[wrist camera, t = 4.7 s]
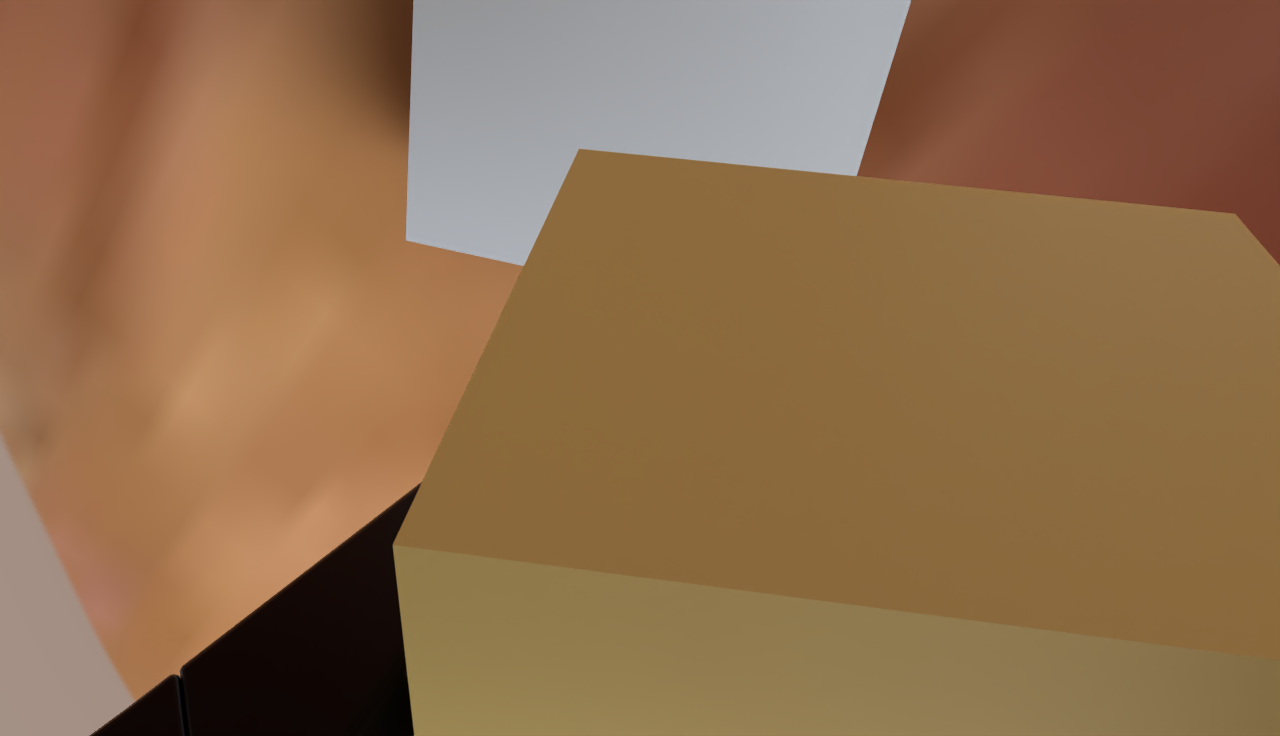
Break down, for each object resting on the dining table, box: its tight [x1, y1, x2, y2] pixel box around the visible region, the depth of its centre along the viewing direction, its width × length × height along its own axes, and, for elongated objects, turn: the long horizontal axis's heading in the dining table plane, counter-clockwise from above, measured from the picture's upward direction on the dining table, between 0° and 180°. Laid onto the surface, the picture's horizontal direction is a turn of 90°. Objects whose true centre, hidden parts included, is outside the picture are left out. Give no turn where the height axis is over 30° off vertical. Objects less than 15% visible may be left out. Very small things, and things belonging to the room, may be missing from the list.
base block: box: [406, 0, 911, 266], centre depth 17 cm, size 7×7×4 cm
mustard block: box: [393, 149, 1280, 736], centre depth 7 cm, size 5×5×4 cm
